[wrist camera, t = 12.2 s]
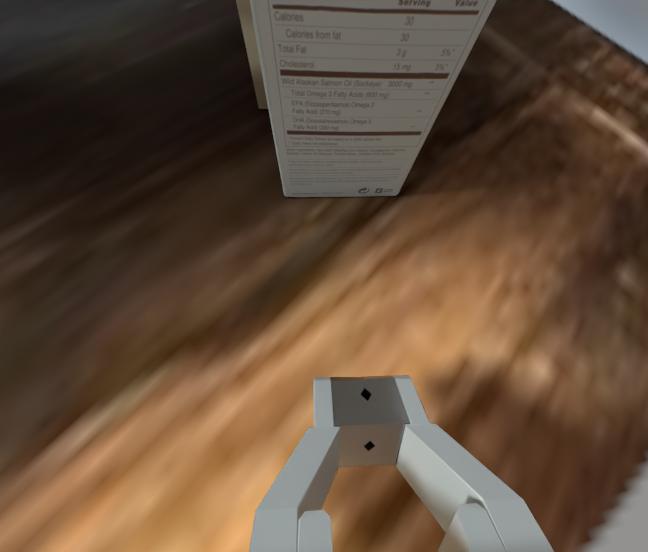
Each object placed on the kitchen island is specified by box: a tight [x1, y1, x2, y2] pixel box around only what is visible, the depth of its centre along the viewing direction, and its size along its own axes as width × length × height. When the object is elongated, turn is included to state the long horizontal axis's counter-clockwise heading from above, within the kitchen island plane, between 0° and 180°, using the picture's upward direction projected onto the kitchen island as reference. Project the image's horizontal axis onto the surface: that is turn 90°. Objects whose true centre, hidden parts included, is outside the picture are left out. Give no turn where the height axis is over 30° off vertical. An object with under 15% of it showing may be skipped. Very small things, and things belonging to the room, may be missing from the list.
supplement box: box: [250, 0, 496, 197], centre depth 12 cm, size 7×7×13 cm
